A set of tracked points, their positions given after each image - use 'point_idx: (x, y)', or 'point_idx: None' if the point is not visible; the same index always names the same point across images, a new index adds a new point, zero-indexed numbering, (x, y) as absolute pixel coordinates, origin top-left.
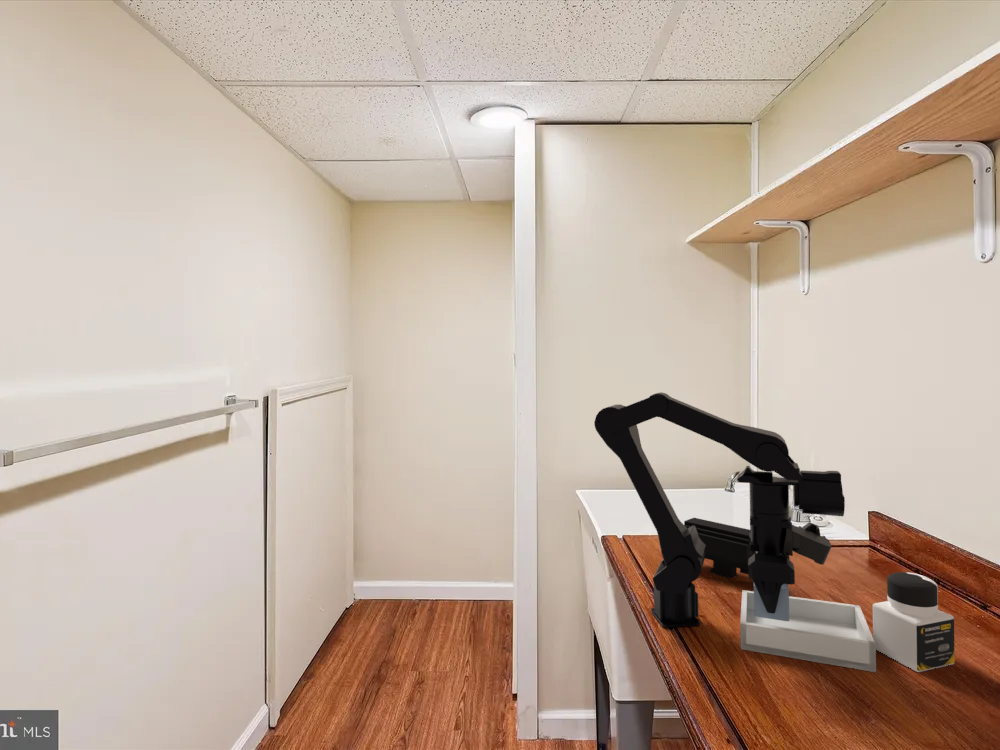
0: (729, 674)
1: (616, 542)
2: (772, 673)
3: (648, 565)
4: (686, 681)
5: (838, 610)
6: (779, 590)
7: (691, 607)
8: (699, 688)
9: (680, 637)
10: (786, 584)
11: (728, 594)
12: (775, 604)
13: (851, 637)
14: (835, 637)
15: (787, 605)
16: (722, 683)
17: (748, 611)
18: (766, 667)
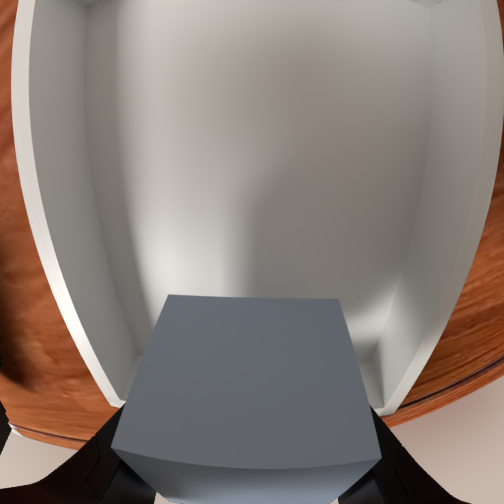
0: (467, 354)
1: (28, 434)
2: (476, 290)
3: (56, 429)
4: (470, 389)
5: (50, 54)
6: (426, 475)
7: None
8: (488, 374)
9: None
10: (264, 473)
11: (56, 358)
12: (371, 409)
13: (219, 3)
14: (496, 123)
15: (356, 368)
16: (486, 356)
17: None
18: None
